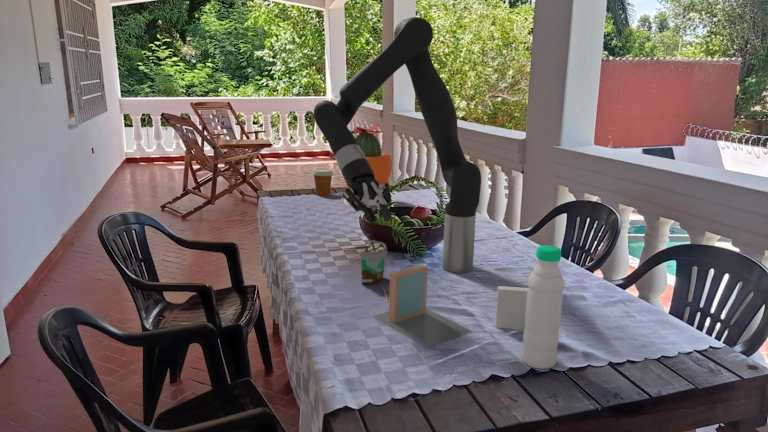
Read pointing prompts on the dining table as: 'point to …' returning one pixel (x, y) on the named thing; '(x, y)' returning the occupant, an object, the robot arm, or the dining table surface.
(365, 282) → the food container
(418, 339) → the slate board
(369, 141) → the potted cactus
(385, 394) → the dining table surface
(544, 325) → the water bottle
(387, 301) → the tweezers
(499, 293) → the grey tile
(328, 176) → the disposable coffee cup
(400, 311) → the terracotta tile
